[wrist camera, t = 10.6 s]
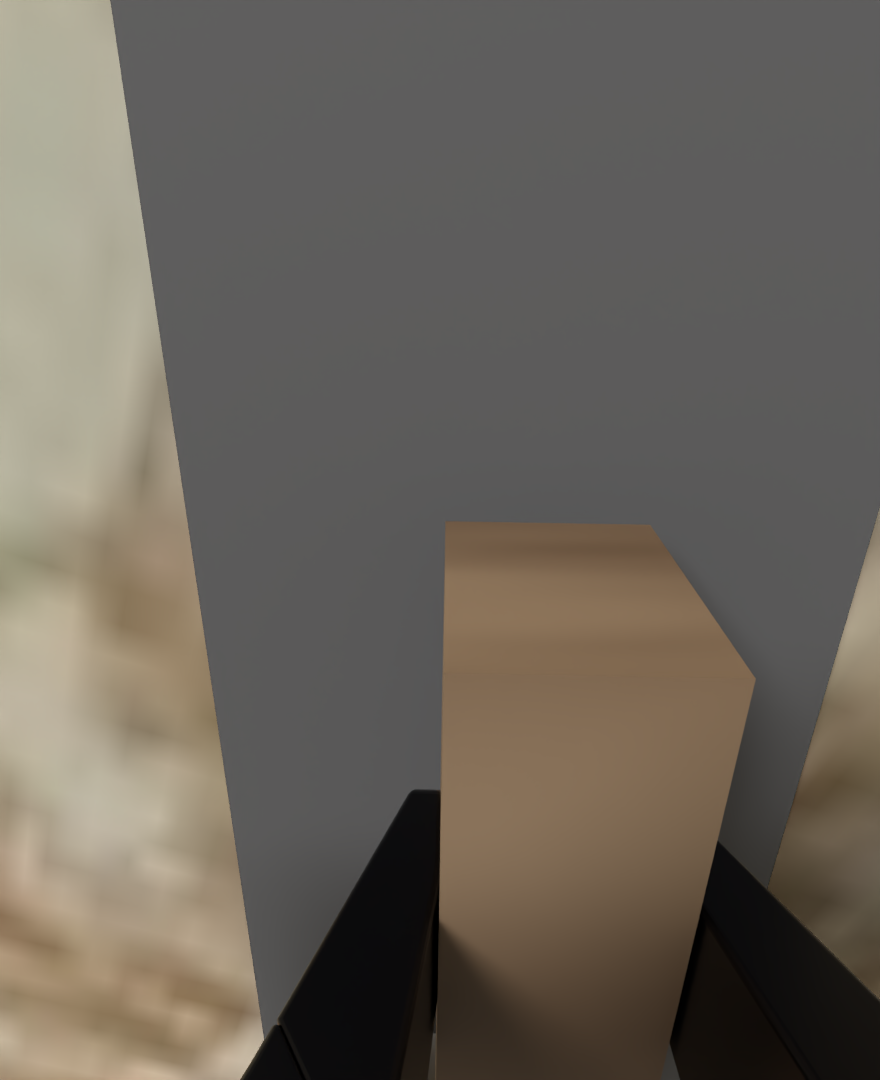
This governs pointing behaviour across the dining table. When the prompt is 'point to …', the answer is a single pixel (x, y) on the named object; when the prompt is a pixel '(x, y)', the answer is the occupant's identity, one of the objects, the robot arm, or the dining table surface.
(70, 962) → the dining table surface
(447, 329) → the mat
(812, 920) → the dining table surface
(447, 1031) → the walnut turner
